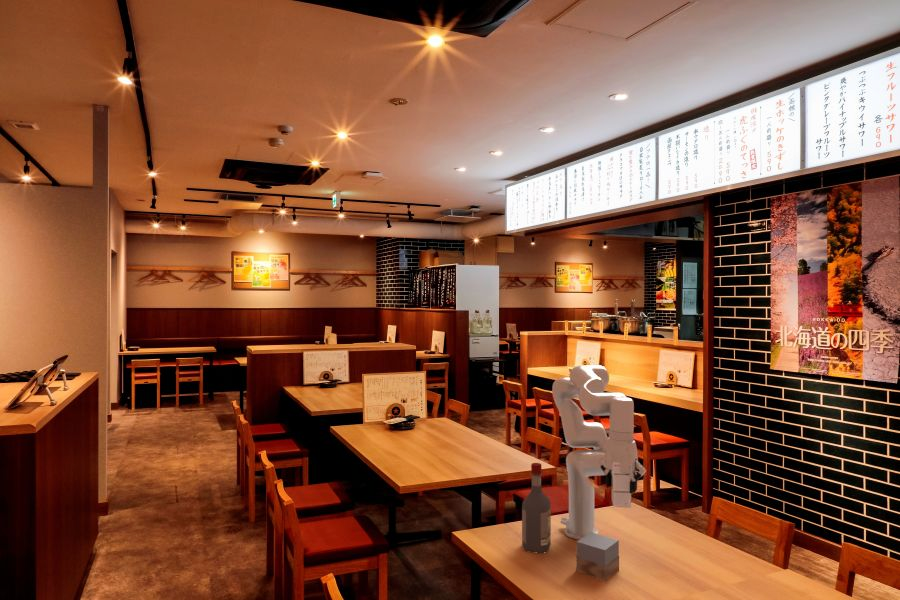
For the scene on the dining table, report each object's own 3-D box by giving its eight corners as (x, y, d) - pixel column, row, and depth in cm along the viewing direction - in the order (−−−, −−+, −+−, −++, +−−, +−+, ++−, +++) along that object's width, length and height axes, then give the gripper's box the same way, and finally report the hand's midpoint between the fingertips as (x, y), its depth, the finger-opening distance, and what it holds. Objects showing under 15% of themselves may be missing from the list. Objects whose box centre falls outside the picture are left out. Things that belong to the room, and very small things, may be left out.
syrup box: (631, 508, 185) (631, 463, 185) (612, 506, 186) (612, 462, 186) (629, 501, 191) (629, 457, 191) (610, 500, 192) (611, 456, 192)
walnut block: (576, 571, 190) (576, 556, 190) (592, 561, 198) (592, 546, 198) (604, 581, 184) (604, 565, 184) (619, 570, 191) (619, 555, 191)
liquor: (520, 550, 205) (520, 466, 205) (527, 541, 214) (527, 459, 214) (546, 555, 202) (546, 469, 202) (551, 545, 210) (551, 462, 210)
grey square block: (576, 556, 190) (576, 541, 190) (590, 547, 197) (590, 532, 197) (605, 565, 183) (605, 550, 183) (618, 555, 191) (618, 540, 191)
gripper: (591, 433, 191) (591, 486, 192) (642, 442, 180) (641, 499, 180) (602, 429, 197) (602, 480, 197) (652, 438, 185) (651, 492, 185)
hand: (620, 489), depth 189 cm, fingers closed on syrup box, 7 cm apart
